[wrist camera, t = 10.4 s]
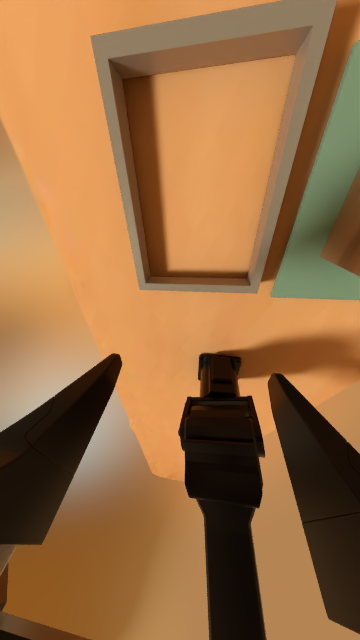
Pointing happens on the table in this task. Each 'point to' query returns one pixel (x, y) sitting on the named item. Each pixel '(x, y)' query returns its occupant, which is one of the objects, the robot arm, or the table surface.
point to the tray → (203, 51)
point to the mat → (326, 202)
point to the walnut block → (346, 233)
